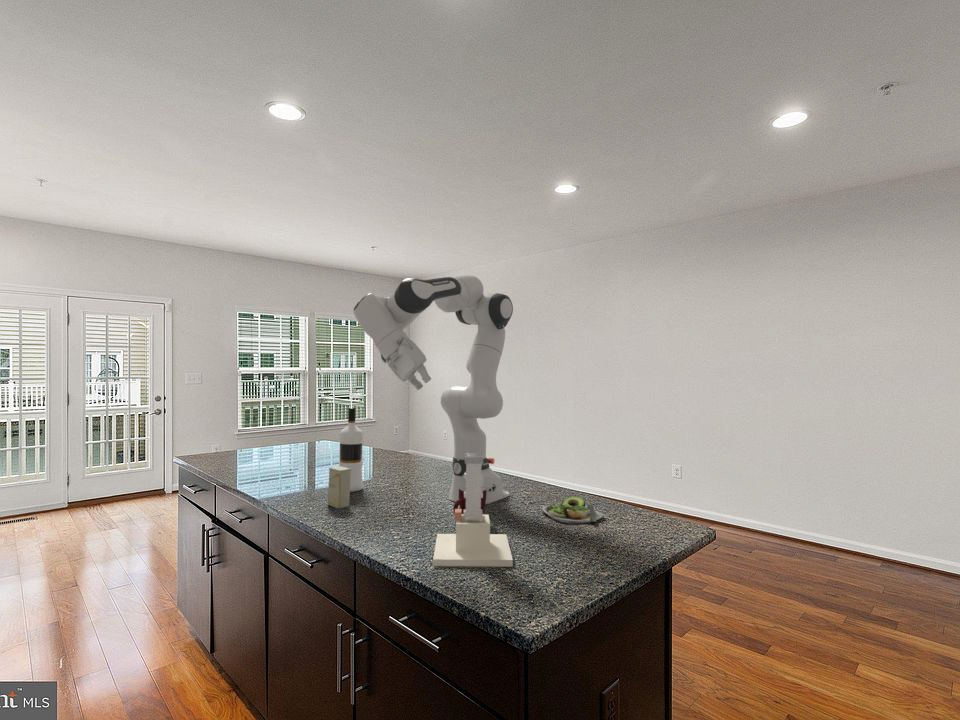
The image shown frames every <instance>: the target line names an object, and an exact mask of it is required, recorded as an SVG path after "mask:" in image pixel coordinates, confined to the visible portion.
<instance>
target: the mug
mask: <svg viewBox="0 0 960 720" xmlns="http://www.w3.org/2000/svg"><path fill="white" fill-rule="evenodd" d="M464 491H466V486H462V487H460V488H459V500H457V501H456V502H454V504H453V508H452V509H453V514H454V515H455V509H462V513H461V514H464V509H466V498H464ZM481 491H483V498H481V509H482V511H483V514H484V512H485V507H486V504H485V503H486V488H485V487H482V486H481Z"/></svg>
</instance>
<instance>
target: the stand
mask: <svg viewBox="0 0 960 720" xmlns="http://www.w3.org/2000/svg"><path fill="white" fill-rule="evenodd" d="M461 513H462V509H460V508H458V509H455V514H454V521H455V522H456V523H455V533H437V534H436V541H435V545H434V552H433V558H432V567H495V568H496V567H498V568H499V567H504V568H505V567H506V568H507V567H511V568H512V567H514V566H513V565H514V561H513V560H514V559H513V554H512V552H511V548H510V545H509V544H510V543H509V540H508V536H507V534H506V533H505V534H504V533H503V534H501V533H497V534H495V533H491V522H490V516H489V515H490V514H483V517H481V520H480V523H465V517H463V516H464V514H461Z"/></svg>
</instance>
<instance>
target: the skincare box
mask: <svg viewBox="0 0 960 720" xmlns="http://www.w3.org/2000/svg"><path fill="white" fill-rule="evenodd" d="M328 471H329V472H328V488H327V489H328V491H327V492H328V493H327V506H329V505H330V506H331V507H333V508H336V509H343V508H346V507H349V506H350V494H351V492H350V476H351V469H349V468H346V467H341V466H339V465H337V466H333V467H331V466H330V467H329V469H328Z"/></svg>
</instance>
